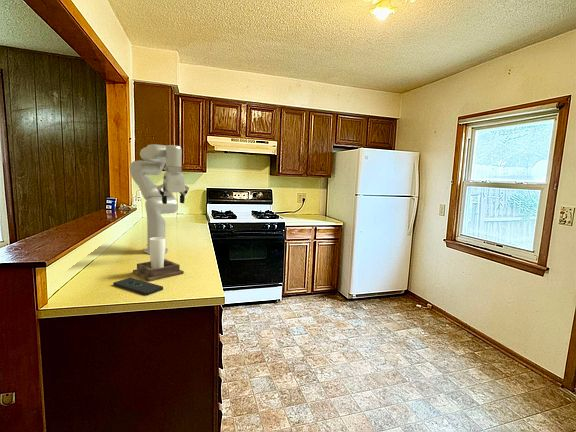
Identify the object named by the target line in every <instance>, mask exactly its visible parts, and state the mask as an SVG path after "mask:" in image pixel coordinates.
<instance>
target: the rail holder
mask: <svg viewBox="0 0 576 432" xmlns="http://www.w3.org/2000/svg"><path fill="white" fill-rule="evenodd" d="M132 273H133V274H134V275H136V276H138V277H139V278H142V279H144V280H146V281H147V282H154V281H157V280H163V279H167V278H171V277H175V276H180V275H184V273H185V272H184V270H183V269H182V270H181V266H180V264H178V263H175V262H173V261H171V260H169V259H166V258H164V267H162V268H157V269H151V261H145V262H139V263H136V269H133V270H132Z"/></svg>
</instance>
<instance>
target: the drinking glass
mask: <svg viewBox="0 0 576 432" xmlns="http://www.w3.org/2000/svg"><path fill="white" fill-rule="evenodd" d="M165 248H166V237H165V238H163V237H153V238H150V239H149V251H150V254H149V258H150V261H151V269H157V268H162V267H164V259H165V257H166V256H165V254H166V253H165ZM150 261H149V262H150Z"/></svg>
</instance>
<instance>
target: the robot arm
mask: <svg viewBox="0 0 576 432" xmlns="http://www.w3.org/2000/svg"><path fill="white" fill-rule="evenodd" d="M182 152H183V151H182V147H181V146H179V145H174V144H169V145H167V144H166V145H164V144H157V143H155V144H154V143H153V144H147V146H145V147H143V148H142V149H140V152H139V156H140V158H141V159H142V160H134V161H132V162H131V163H130V164H129V172H130V176H131V178H132V180H133V181H134V183H135V184H136V185H137V186H138V188H139V190H140V192H141V193H140V194H141V195H142V197H143V198H144V200H145V203H144V205H145V212H146V225H147V227H146V228H147V229H146V230H147V231H146V232H147V239H146V240H147V241H146V242H147V243H146V247H147V248H146V249H144V253H145V254H147V255H150V251H149V239H150V238H153V237H163V238H165V239H166V220H165V219H164V217H163V216H162V215H163V214H164V215H165V214H166V215H167V214H169V215H170V214H175V213H176V212H177V211H178V209H179V204H178V201H177V199H176V196H175V195H174V193H179V203H180V204H185V200H186V199H185V196H186V195H187V194H188V192H189V189H190V186H187V185H186V183H185V176H184V173H182V166H183V165H182V163H183V162H182V155H183V154H182ZM163 170H164V171H165V172H164V173H163V180H162V184H160V185H159V184H157V185H156V184H155V183H154V181H153V180H152V178H150V177H149V176H159V175H160V174H161V173H162V171H163ZM168 252H169V249H168V248H167V247H165V254H166V253H168Z"/></svg>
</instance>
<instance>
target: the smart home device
mask: <svg viewBox="0 0 576 432" xmlns="http://www.w3.org/2000/svg"><path fill="white" fill-rule="evenodd" d="M112 285H113V286H114V287H117V288H120V289H123V290H125V291H126V290H127V291H129V292H133V293H135V294H140V295H143V296H146V297H148V296H150V295H153V294H156V293H158V292H161V291H163V290H164V286H163V285H159V284H155V283H151V282H150V281H144V280H142V279H137V278H134V277H127V278H124V279H123V278H122V279H120V280H117V281H114V282H112Z"/></svg>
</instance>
